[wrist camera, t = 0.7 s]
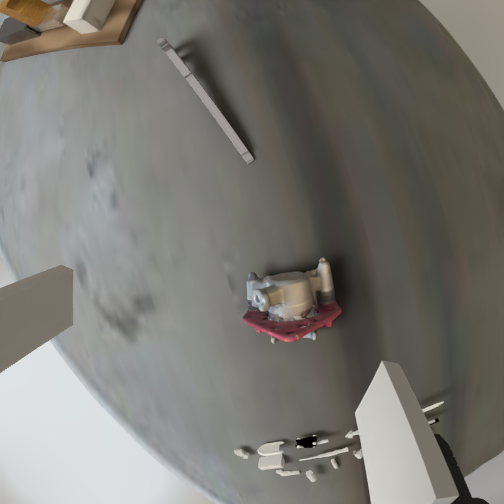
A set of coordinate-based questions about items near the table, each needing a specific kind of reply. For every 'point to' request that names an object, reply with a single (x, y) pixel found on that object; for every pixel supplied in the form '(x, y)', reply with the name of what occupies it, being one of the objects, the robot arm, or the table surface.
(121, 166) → the table surface
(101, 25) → the socket block
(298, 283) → the brake caliper
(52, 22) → the stacked block assembly
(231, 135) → the caliper
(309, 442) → the miniature set
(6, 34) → the outer sleeve
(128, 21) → the base board
